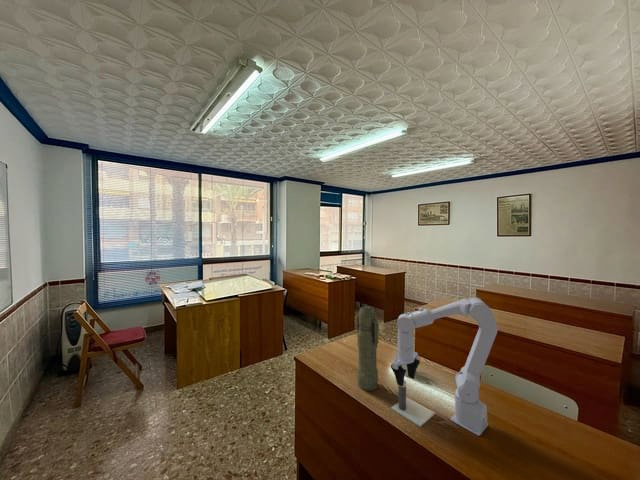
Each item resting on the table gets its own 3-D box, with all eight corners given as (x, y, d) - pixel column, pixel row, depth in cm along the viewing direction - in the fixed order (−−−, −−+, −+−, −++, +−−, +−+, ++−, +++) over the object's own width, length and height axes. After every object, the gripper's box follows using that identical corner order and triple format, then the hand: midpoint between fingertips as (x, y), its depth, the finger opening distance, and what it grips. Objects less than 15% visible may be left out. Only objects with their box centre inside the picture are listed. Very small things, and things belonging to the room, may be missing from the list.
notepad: (434, 414, 93) (434, 412, 93) (420, 426, 87) (420, 425, 87) (406, 398, 103) (406, 396, 103) (391, 408, 97) (391, 407, 97)
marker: (407, 408, 96) (407, 382, 96) (403, 411, 94) (402, 384, 94) (401, 404, 98) (401, 378, 98) (396, 407, 97) (396, 381, 96)
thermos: (372, 395, 105) (372, 311, 105) (351, 383, 114) (350, 306, 113) (384, 386, 111) (384, 307, 111) (363, 376, 120) (363, 302, 119)
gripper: (406, 338, 104) (407, 370, 104) (385, 348, 95) (385, 383, 95) (422, 343, 99) (423, 378, 99) (401, 354, 90) (402, 392, 90)
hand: (405, 381), depth 97 cm, fingers open, 7 cm apart
